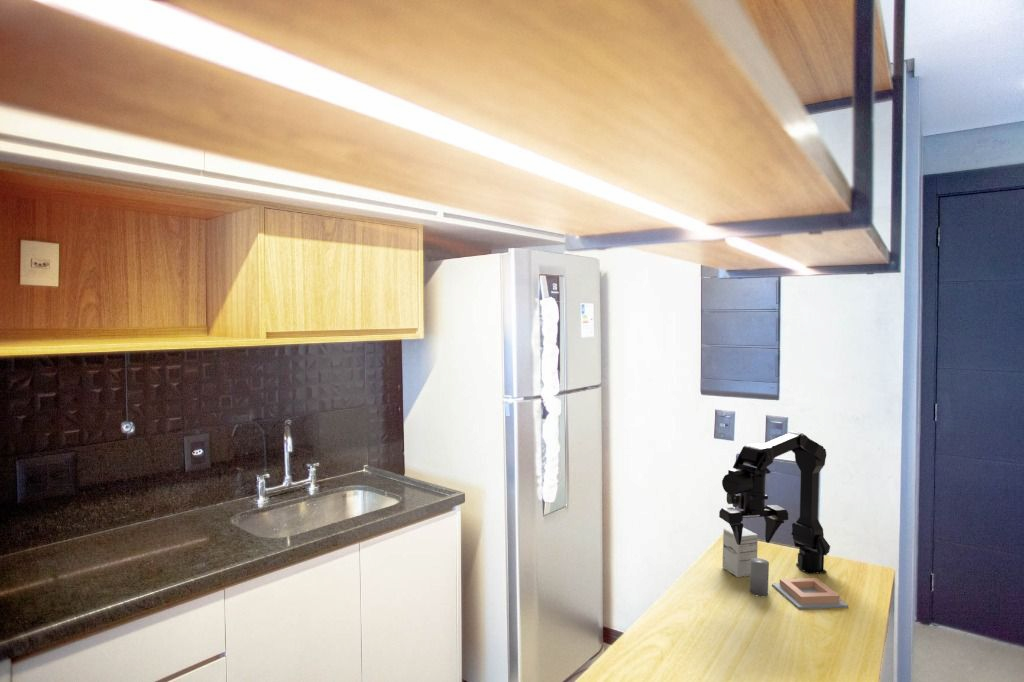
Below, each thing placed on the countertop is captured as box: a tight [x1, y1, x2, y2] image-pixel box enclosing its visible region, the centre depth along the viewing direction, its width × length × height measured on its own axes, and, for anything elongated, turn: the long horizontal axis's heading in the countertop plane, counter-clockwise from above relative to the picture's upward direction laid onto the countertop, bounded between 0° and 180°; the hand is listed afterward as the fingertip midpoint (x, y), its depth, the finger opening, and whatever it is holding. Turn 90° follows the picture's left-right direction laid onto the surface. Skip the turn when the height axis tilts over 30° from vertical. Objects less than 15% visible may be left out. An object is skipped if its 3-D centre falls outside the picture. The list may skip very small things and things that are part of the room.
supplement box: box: [722, 526, 759, 578], centre depth 184 cm, size 7×7×13 cm
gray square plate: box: [771, 577, 849, 610], centre depth 168 cm, size 14×14×3 cm
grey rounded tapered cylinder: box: [749, 557, 770, 597], centre depth 170 cm, size 5×5×9 cm
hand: (752, 543), depth 172 cm, fingers open, 9 cm apart
